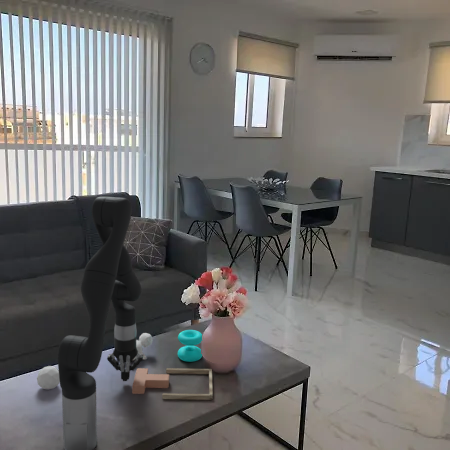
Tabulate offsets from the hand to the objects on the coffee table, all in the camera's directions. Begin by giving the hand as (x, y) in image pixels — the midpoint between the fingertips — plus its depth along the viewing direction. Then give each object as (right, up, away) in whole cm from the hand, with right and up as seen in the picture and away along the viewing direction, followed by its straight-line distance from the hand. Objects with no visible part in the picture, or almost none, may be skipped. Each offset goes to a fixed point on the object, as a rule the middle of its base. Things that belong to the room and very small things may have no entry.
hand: (125, 380), depth 173 cm
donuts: (+21, +2, +22) cm, 31 cm away
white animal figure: (0, +3, +20) cm, 20 cm away
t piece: (+9, -2, +1) cm, 9 cm away
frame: (+22, -2, +1) cm, 22 cm away
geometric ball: (-26, -2, -4) cm, 26 cm away
